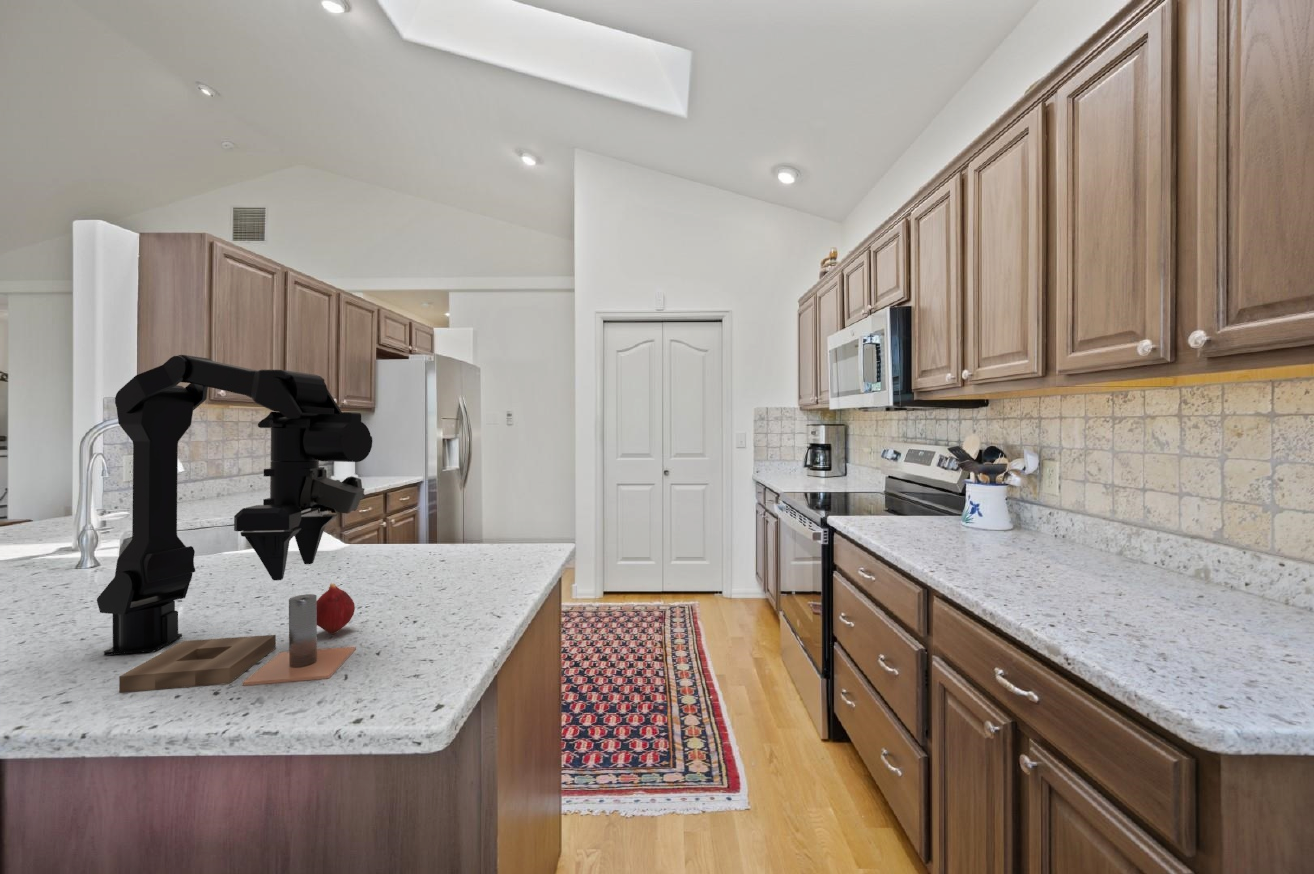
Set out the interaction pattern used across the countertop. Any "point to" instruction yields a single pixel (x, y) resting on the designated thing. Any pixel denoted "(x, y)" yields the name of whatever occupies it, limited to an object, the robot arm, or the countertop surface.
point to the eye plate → (198, 663)
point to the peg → (302, 630)
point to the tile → (283, 672)
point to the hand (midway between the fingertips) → (294, 571)
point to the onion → (334, 609)
